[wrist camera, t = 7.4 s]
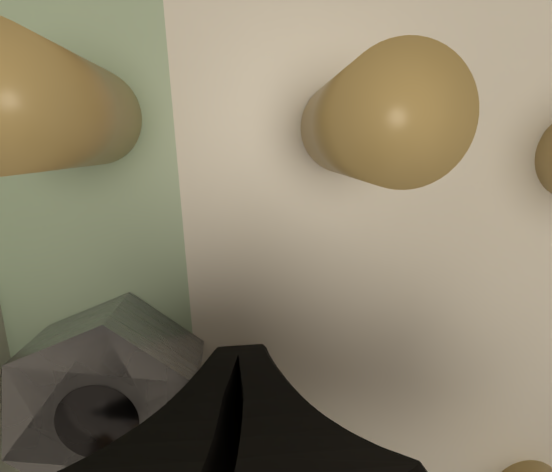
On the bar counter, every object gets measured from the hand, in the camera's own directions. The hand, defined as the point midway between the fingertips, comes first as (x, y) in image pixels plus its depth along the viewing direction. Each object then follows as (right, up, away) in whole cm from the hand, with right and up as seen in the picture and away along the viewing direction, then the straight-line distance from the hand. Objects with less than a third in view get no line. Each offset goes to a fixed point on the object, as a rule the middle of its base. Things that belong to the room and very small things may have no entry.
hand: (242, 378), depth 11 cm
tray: (+2, +2, +2) cm, 3 cm away
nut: (-4, 0, +1) cm, 4 cm away
